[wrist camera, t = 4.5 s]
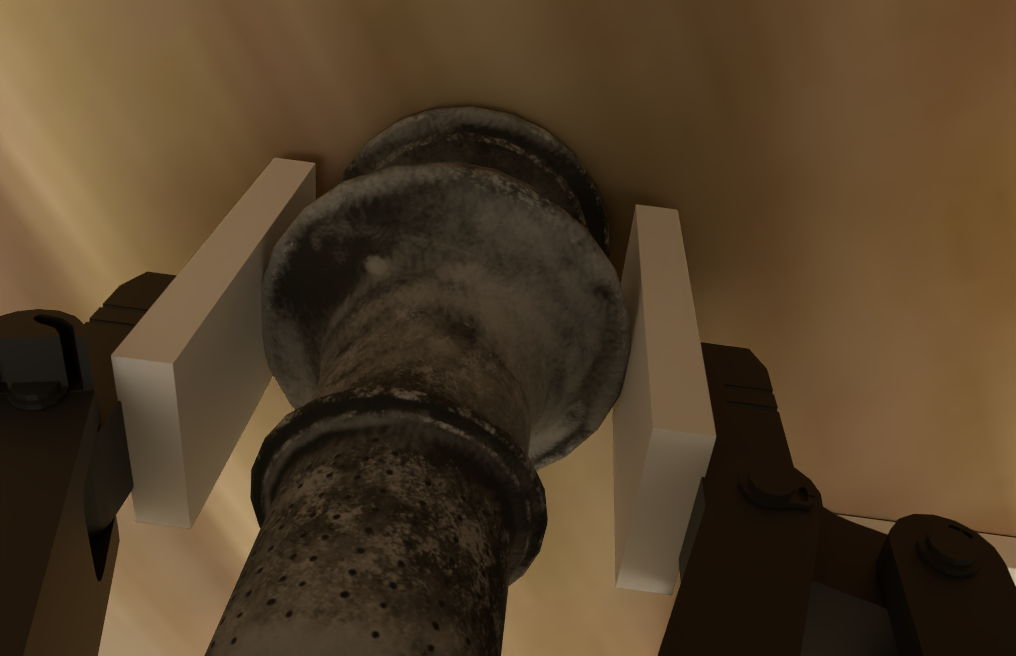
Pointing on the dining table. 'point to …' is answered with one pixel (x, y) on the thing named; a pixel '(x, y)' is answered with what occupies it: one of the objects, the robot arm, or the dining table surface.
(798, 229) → the dining table surface
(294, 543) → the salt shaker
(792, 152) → the dining table surface
